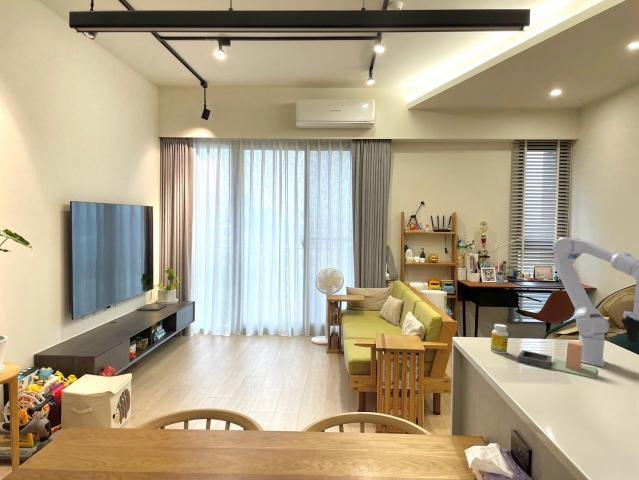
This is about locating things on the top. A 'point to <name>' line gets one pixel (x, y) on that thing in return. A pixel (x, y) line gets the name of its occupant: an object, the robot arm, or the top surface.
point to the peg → (574, 355)
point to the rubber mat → (584, 371)
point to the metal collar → (535, 359)
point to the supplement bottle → (499, 339)
